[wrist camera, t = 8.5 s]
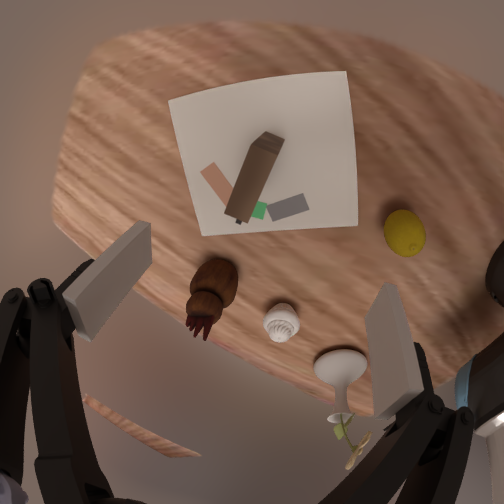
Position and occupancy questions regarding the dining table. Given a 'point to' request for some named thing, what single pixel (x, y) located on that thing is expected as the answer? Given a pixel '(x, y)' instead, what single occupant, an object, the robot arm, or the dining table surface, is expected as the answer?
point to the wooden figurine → (210, 294)
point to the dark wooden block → (253, 176)
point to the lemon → (404, 233)
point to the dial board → (289, 158)
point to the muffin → (281, 322)
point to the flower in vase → (342, 390)
